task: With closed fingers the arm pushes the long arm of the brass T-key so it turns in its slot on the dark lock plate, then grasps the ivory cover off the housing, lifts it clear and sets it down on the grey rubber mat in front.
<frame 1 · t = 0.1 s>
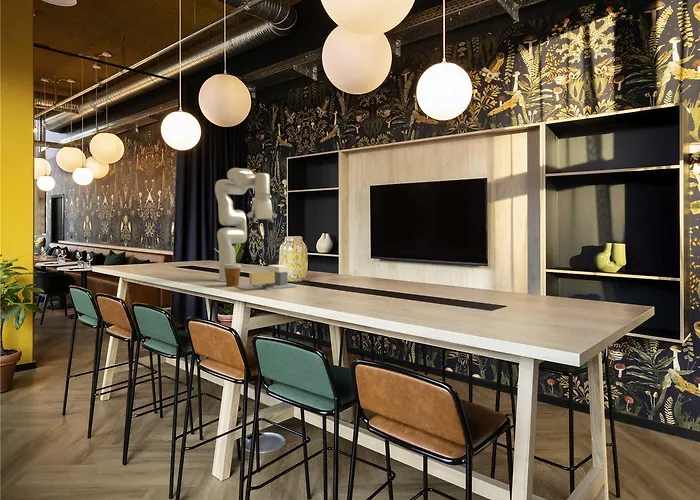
hand: (262, 230, 241), 31 cm above the table, fingers open, 9 cm apart
mat: (247, 287, 248), on the table
cover: (278, 271, 258), point 8 cm above the table, touching housing
key: (262, 278, 243), point 6 cm above the table, hinge at 0.0°
housing: (274, 286, 254), on the table
disposable coffee cup: (232, 286, 256), on the table
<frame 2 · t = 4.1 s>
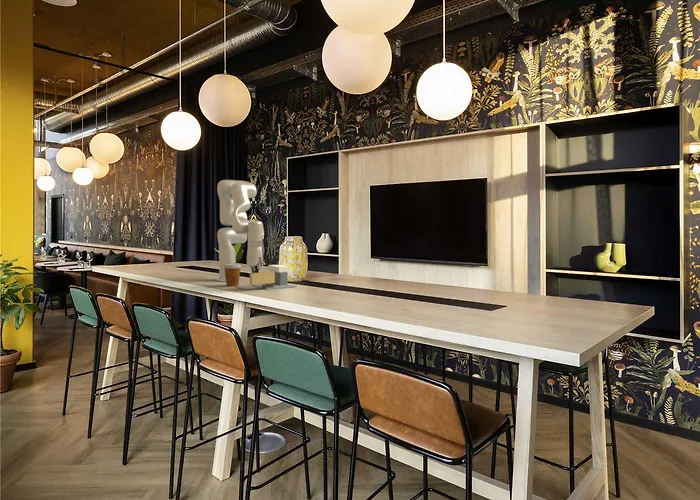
hand: (255, 278, 245), 5 cm above the table, fingers closed
key: (262, 278, 243), point 6 cm above the table, hinge at 3.3°, touching gripper
everything else where it was.
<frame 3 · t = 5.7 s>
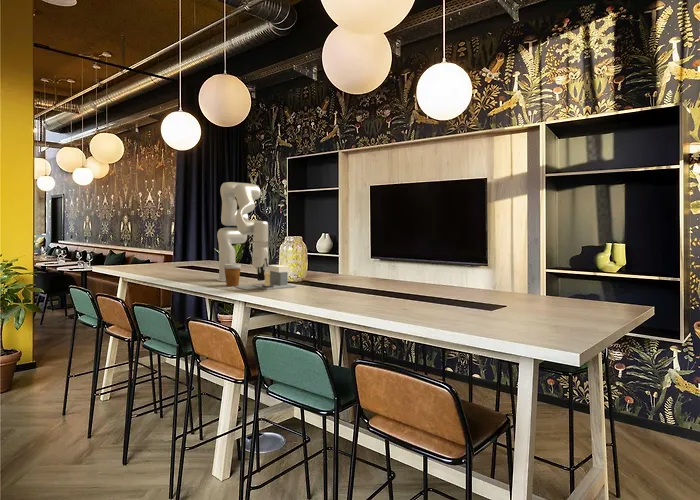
hand: (260, 280, 240), 5 cm above the table, fingers closed
key: (267, 279, 242), point 6 cm above the table, hinge at 60.1°, touching gripper
everything else where it was.
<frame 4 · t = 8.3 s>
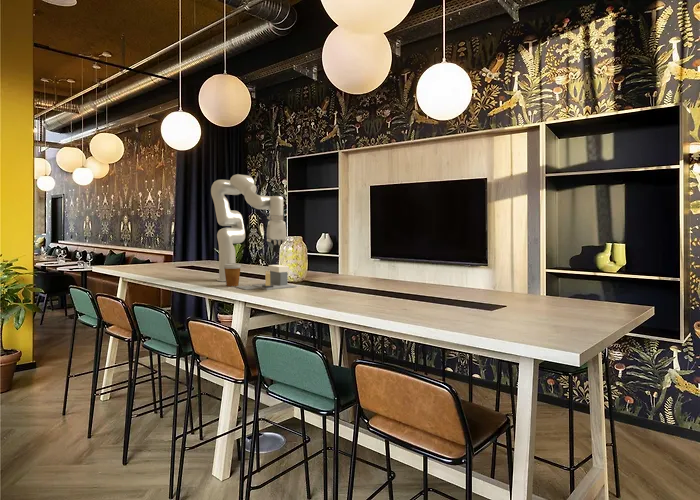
hand: (276, 252, 255), 19 cm above the table, fingers closed
key: (267, 279, 242), point 6 cm above the table, hinge at 62.3°
everything else where it was.
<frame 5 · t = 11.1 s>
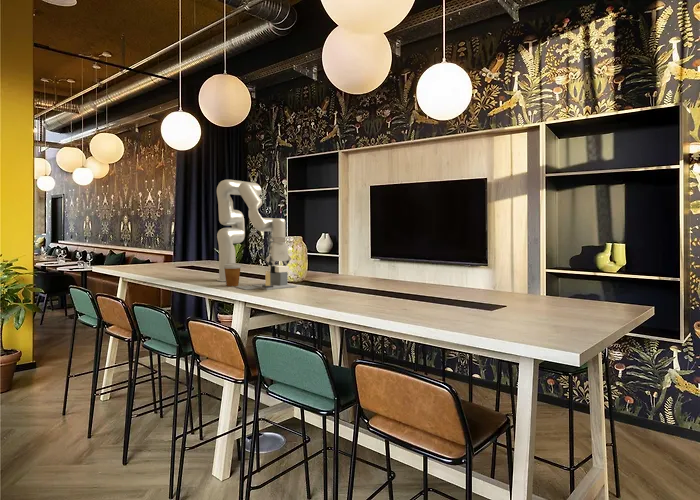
hand: (278, 272, 258), 7 cm above the table, fingers closed on cover, 6 cm apart
cover: (278, 271, 258), point 8 cm above the table, touching gripper, housing
everything else where it was.
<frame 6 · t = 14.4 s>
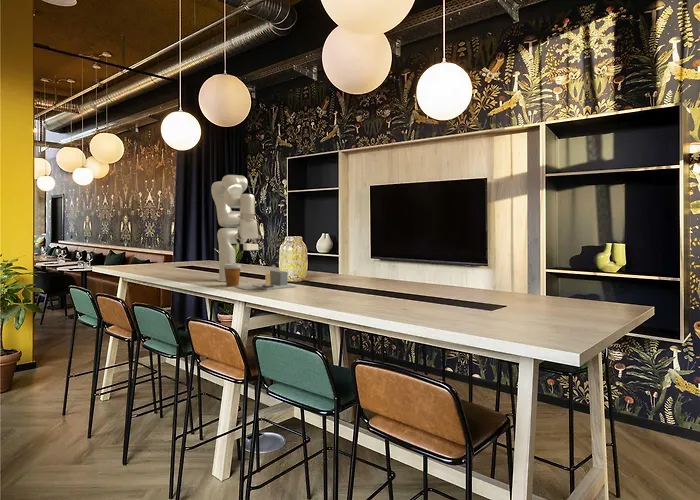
hand: (247, 250, 246), 20 cm above the table, fingers closed on cover, 6 cm apart
cover: (247, 249, 246), point 21 cm above the table, touching gripper
everything else where it was.
when the fingers open (2 cm above the table, at t = 18.1 s): cover drops 2 cm, resting on mat.
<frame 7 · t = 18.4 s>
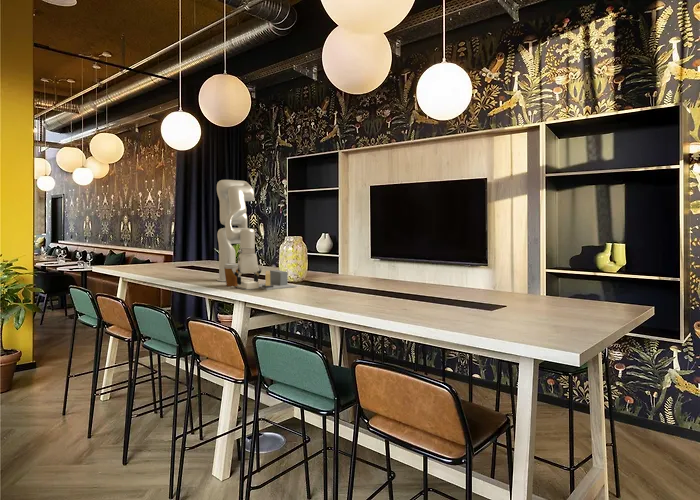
hand: (247, 283, 247), 2 cm above the table, fingers open, 9 cm apart
cover: (247, 287, 248), resting on mat
everything else where it was.
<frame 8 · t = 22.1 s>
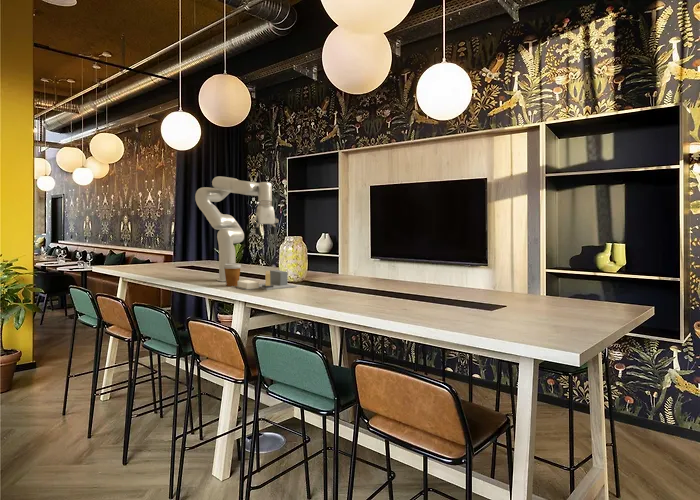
hand: (265, 234, 264), 28 cm above the table, fingers open, 9 cm apart
nothing on the table moved.
at the end: key at +62° (first picture: +0°); cover inside the target area (0.2 cm from its centre), resting on mat; cover touching mat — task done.
